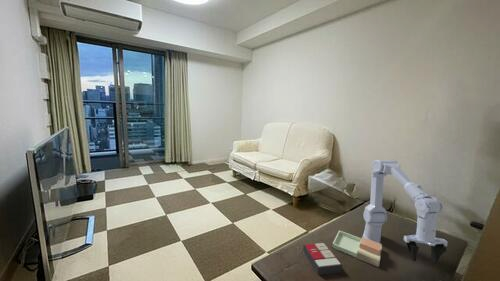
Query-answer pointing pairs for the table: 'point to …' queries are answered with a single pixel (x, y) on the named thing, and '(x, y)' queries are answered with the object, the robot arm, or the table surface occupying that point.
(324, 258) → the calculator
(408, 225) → the table surface
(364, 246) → the tile
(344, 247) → the box
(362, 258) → the bench plate
